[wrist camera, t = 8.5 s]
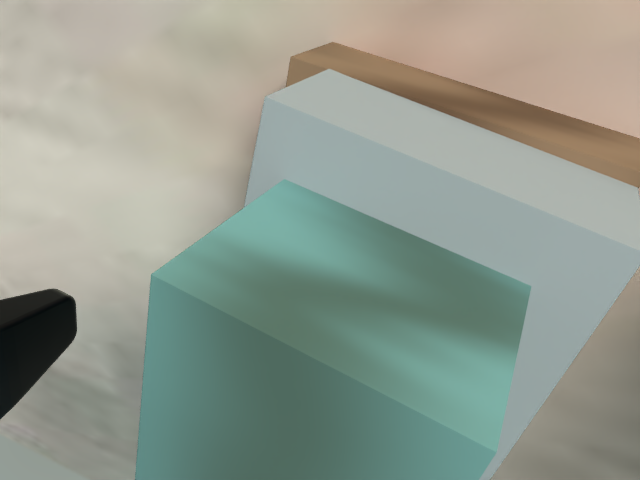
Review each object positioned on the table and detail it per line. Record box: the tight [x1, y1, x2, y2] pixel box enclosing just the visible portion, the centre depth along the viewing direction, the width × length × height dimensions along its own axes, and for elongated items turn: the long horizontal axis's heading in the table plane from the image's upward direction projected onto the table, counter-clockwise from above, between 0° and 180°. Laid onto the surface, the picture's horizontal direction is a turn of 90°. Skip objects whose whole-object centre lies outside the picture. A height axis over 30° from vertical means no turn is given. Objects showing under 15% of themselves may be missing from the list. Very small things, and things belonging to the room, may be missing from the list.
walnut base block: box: [286, 42, 640, 188], centre depth 15 cm, size 8×8×3 cm
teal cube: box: [135, 179, 532, 480], centre depth 10 cm, size 5×5×4 cm
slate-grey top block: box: [244, 69, 640, 480], centre depth 13 cm, size 7×7×3 cm
